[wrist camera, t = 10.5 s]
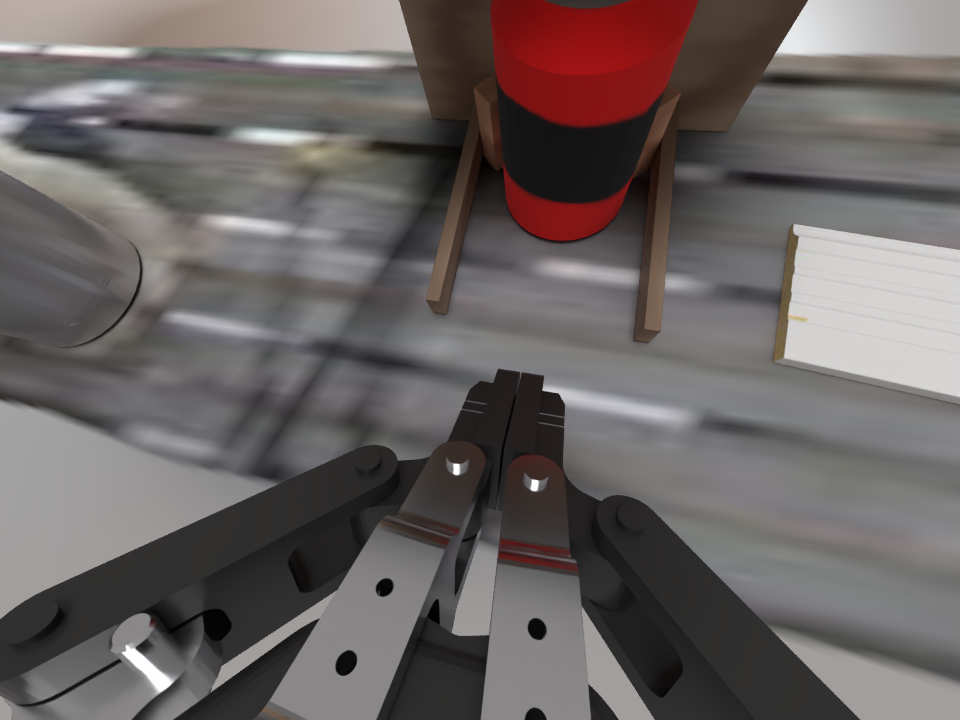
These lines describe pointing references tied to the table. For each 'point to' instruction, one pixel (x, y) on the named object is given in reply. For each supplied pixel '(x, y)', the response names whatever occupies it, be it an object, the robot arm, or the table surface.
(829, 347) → the baseboard
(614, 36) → the soda can
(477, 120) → the overhang shelf
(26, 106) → the table surface
